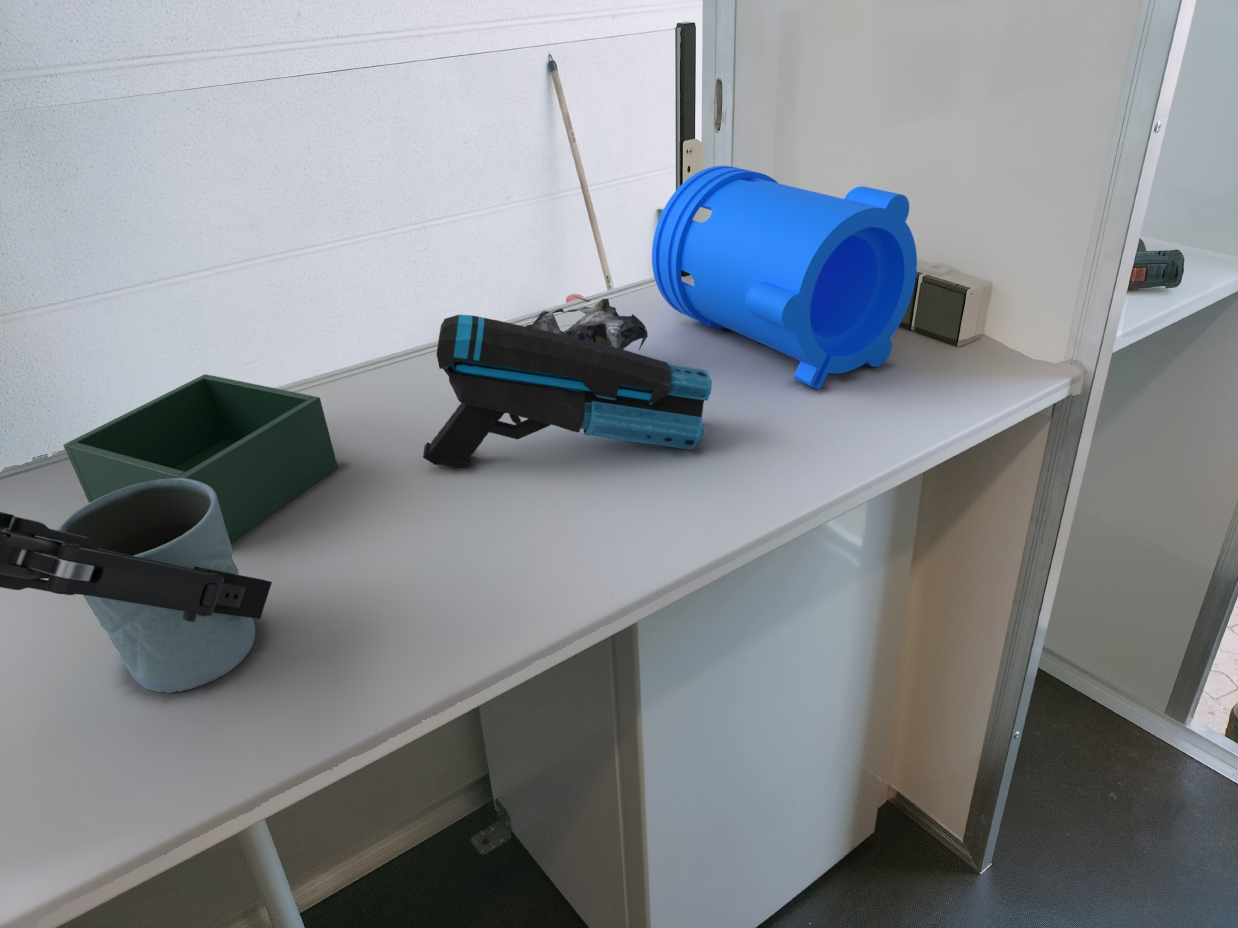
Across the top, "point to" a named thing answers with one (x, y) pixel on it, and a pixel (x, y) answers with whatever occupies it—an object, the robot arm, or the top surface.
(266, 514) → the open box
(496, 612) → the top surface
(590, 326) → the foil
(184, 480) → the grey-blue textured cup
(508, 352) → the gun
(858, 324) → the tube
